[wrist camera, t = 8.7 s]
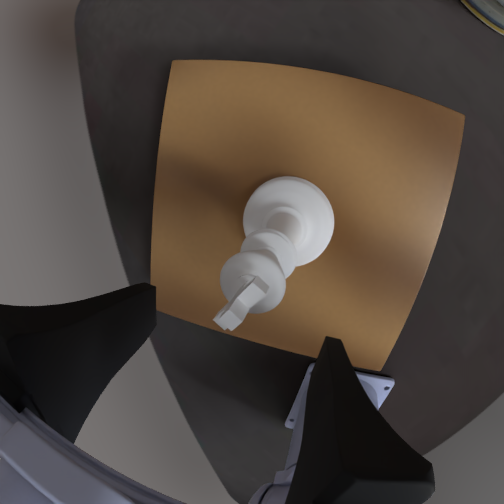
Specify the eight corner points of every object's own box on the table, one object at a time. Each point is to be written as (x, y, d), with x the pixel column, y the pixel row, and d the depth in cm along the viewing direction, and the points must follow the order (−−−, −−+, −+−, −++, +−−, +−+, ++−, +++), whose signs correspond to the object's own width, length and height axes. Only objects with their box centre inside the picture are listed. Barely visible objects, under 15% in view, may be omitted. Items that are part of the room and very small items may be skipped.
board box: (375, 339, 21) (380, 371, 18) (174, 285, 24) (150, 308, 21) (441, 120, 15) (465, 115, 11) (199, 72, 18) (171, 59, 14)
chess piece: (227, 221, 17) (117, 306, 8) (285, 157, 15) (215, 169, 6) (290, 280, 17) (242, 414, 8) (352, 222, 15) (379, 327, 6)
